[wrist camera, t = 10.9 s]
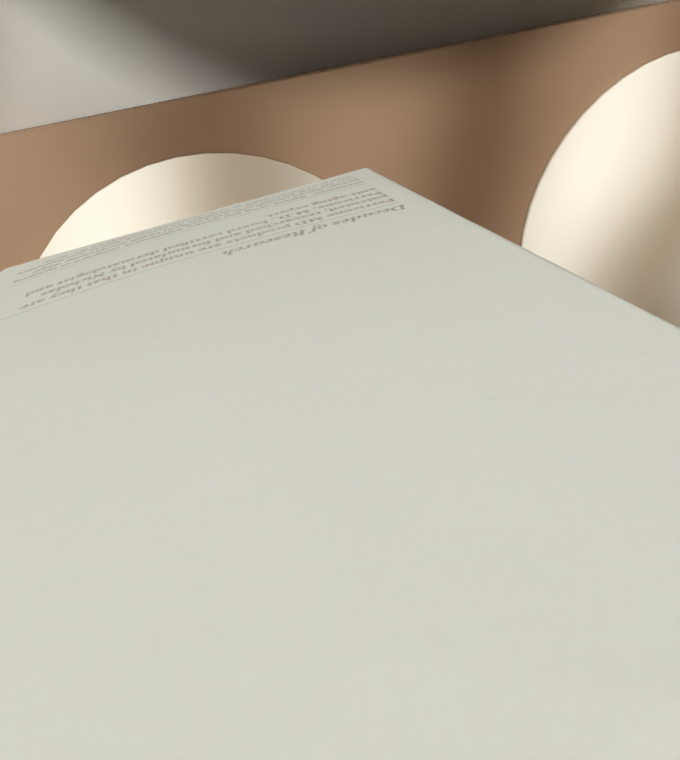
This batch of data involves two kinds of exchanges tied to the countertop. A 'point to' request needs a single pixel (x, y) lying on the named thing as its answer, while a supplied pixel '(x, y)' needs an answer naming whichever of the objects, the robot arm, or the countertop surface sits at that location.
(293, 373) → the supplement box
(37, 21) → the countertop surface
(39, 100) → the countertop surface
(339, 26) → the countertop surface
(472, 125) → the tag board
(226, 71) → the countertop surface
